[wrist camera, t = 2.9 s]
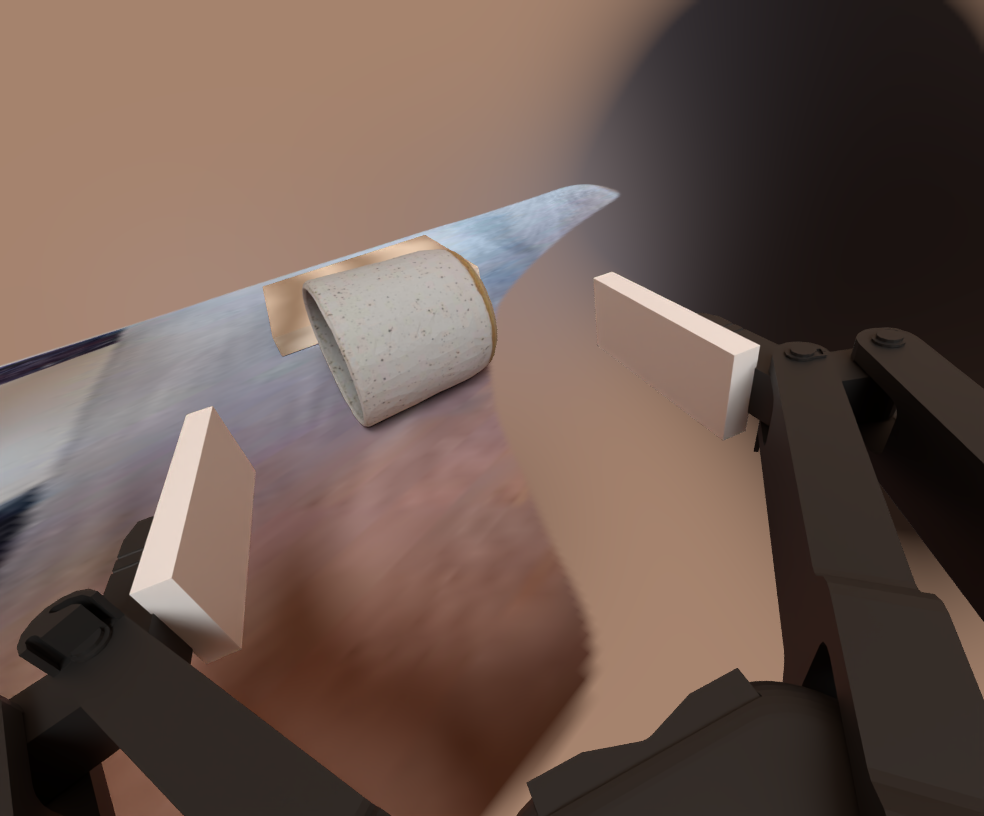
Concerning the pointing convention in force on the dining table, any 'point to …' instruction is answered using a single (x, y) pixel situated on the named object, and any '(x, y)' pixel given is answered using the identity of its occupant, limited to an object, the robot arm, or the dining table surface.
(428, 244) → the birch board
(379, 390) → the ceramic mug
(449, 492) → the dining table surface
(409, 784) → the dining table surface
